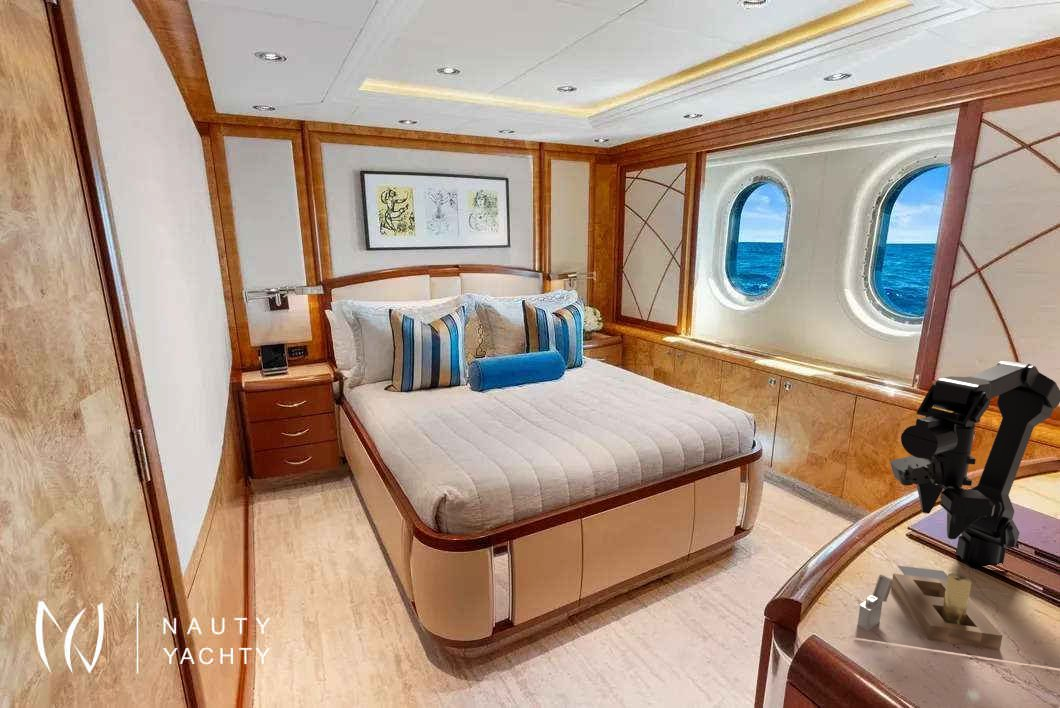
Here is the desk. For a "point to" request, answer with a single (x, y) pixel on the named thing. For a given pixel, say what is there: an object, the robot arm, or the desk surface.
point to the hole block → (930, 610)
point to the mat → (924, 572)
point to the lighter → (874, 604)
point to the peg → (956, 599)
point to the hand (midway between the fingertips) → (937, 525)
